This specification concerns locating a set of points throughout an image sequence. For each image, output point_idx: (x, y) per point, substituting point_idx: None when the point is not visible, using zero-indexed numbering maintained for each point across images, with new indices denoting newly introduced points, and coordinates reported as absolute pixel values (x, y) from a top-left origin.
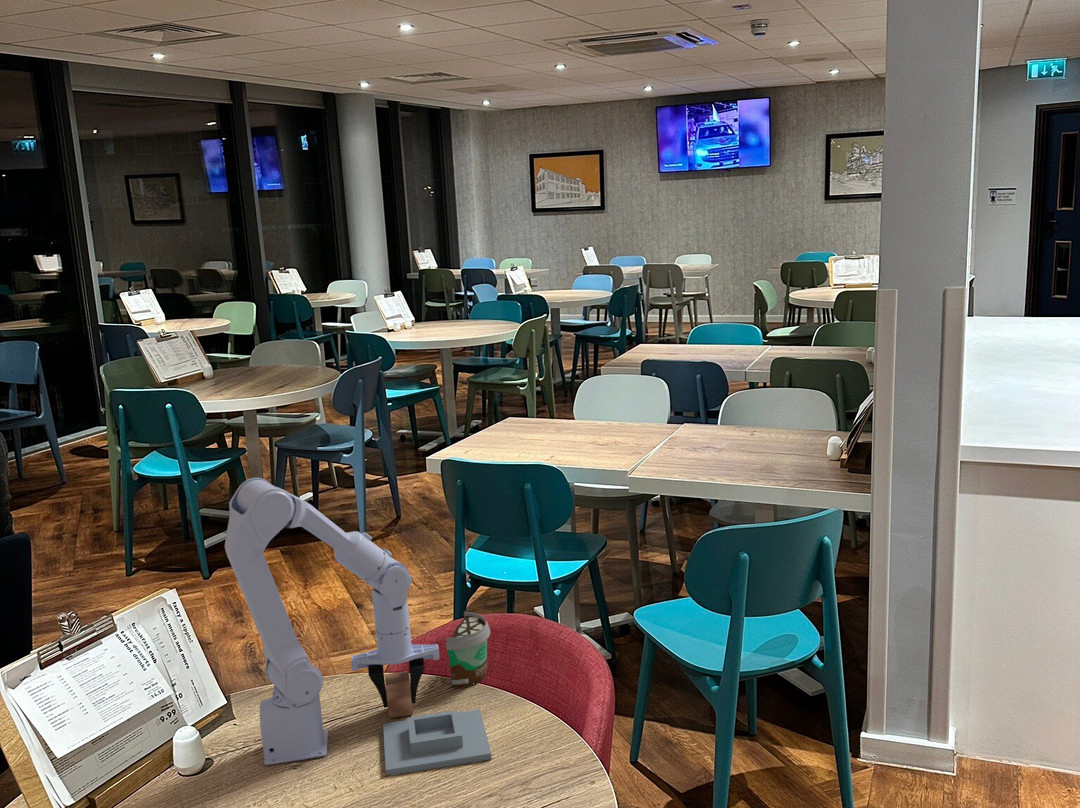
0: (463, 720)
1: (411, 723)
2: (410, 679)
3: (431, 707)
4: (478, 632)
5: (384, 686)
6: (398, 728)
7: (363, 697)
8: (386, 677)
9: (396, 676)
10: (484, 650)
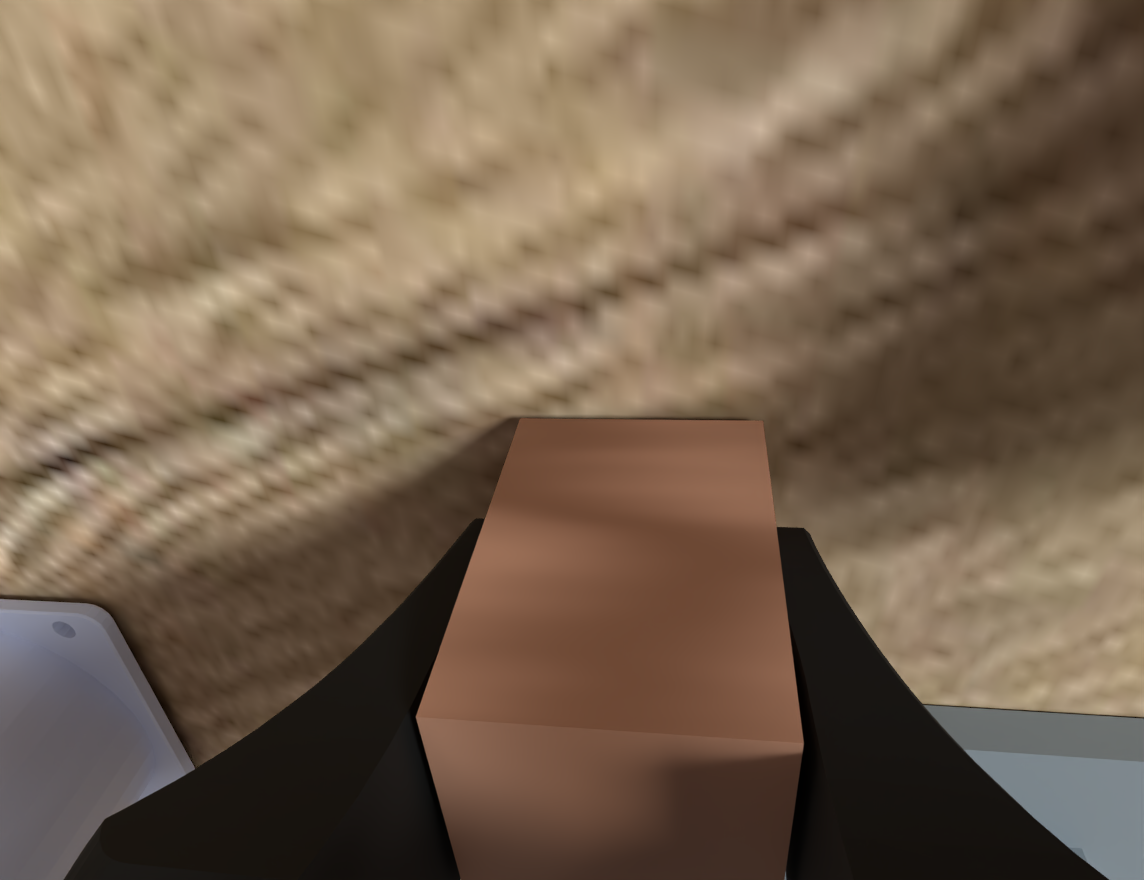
0: (1132, 851)
1: None
2: (797, 824)
3: (950, 510)
4: None
5: (457, 873)
6: None
7: (201, 94)
8: (454, 793)
9: (599, 808)
10: None
